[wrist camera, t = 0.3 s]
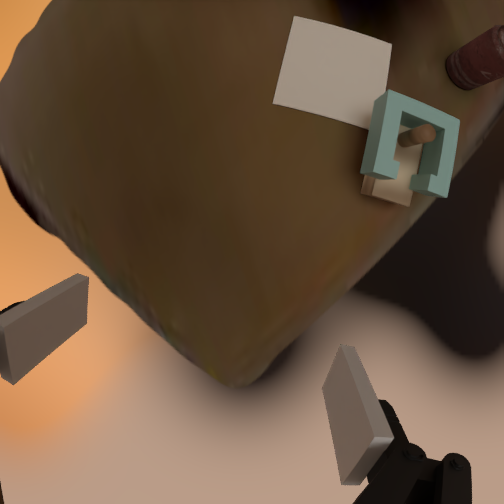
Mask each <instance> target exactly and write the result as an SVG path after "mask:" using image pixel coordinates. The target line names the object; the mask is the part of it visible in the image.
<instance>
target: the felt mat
mask: <svg viewBox="0 0 504 504" xmlns="http://www.w3.org/2000/svg"><path fill="white" fill-rule="evenodd" d="M391 47H392V44H389V43H387V42H384V41H381V40H378V39H375V38H373V37H370V36H367V35H364V34H361V33H357V32H354V31H351V30H348V29H344V28H341V27H337V26H334V25H330V24H326V23H322V22H318V21H314V20H310V19H306V18H301V17H297V16H294V19H293V23H292V27H291V31H290V35H289V39H288V43H287V47H286V51H285V55H284V59H283V63H282V67H281V71H280V75H279V79H278V83H277V88H276V92H275V96H274V100H273V104H275V105H280V106H284V107H289V108H293V109H297V110H301V111H305V112H309V113H313V114H317V115H320V116H324V117H328V118H331V119H335V120H338V121H342V122H345V123H348V124H352V125H355V126H358V127H361V128H364V129H367V130H369V127H370V122H371V117H372V111H373V106H374V101H375V100H376V99H377V98H378V97H380V96H381V95H382V94H384V93H385V90H386V84H387V77H388V70H389V63H390V55H391Z"/></svg>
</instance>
